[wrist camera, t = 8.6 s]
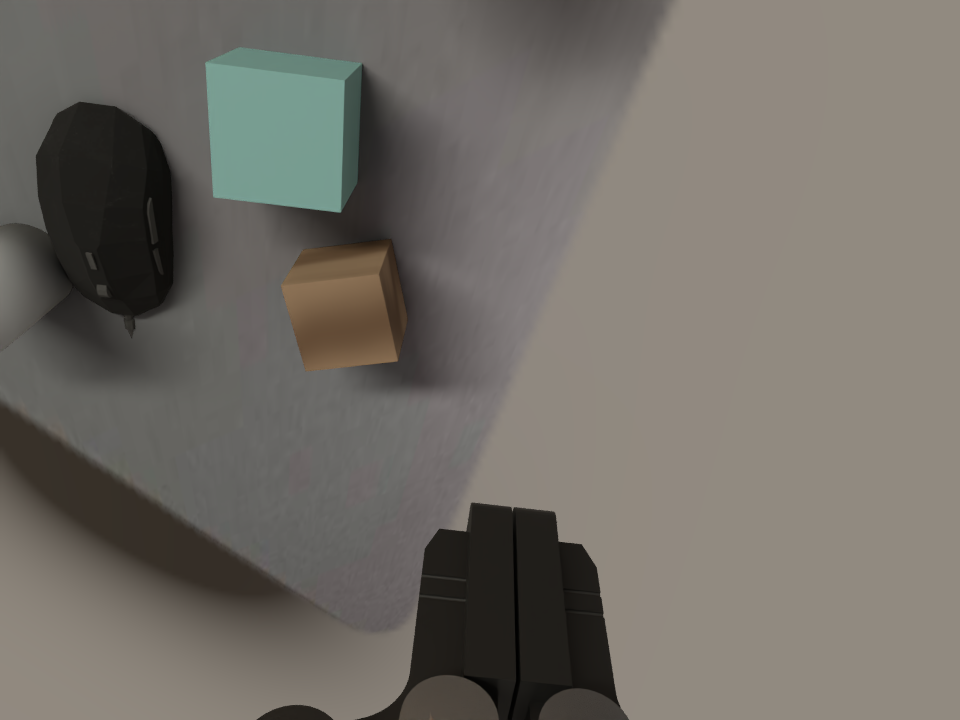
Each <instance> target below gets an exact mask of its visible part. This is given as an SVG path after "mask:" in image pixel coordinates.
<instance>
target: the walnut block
mask: <svg viewBox="0 0 960 720" xmlns="http://www.w3.org/2000/svg"><path fill="white" fill-rule="evenodd" d="M281 288H282V291H283V295H284V298H285V302H286V305H287V309H288V312H289V315H290V319H291V322H292V326H293V329H294V333H295V336H296V339H297V343H298V346H299V350H300V353H301V356H302V360H303V363H304V367H305V370H306V371H314V370H323V369H332V368H342V367H351V366H360V365H369V364H378V363H387V362H397V361H398V359H399V355H400V351H401V346H402V342H403V338H404V334H405V329H406V325H407V321H408V318H407V313H406V308H405V303H404V298H403V293H402V289H401V284H400V279H399V274H398V269H397V264H396V259H395V255H394V250H393V245H392V240H391V239H385V240H377V241H369V242H361V243H353V244H345V245H336V246H328V247H320V248H312V249H304V250H303V251H302V252H301V254H300V256H299V257H298V259H297V261H296V262H295V264H294V265H293V267H292V269H291V270H290V272H289V274H288V275H287V277H286V278H285V280H284V282H283V283H282V285H281Z"/></svg>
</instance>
